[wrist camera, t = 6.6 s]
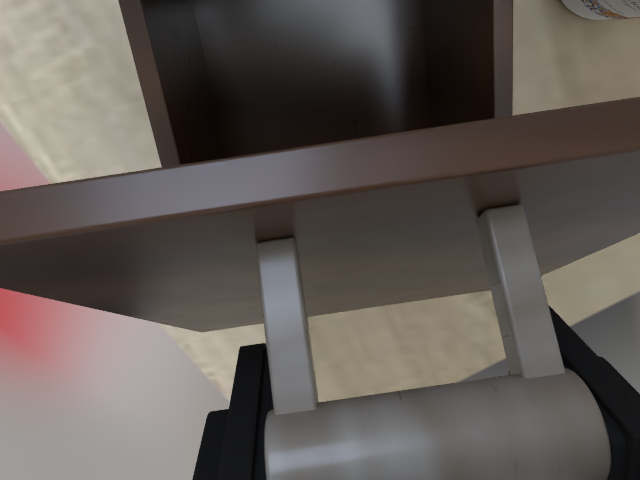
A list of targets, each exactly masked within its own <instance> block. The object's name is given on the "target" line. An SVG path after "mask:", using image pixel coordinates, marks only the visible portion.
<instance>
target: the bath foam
mask: <svg viewBox="0 0 640 480" xmlns="http://www.w3.org/2000/svg"><path fill="white" fill-rule="evenodd" d="M561 1H562V3H563V4H564V5H565V6H566V7H567V8H568V9H569V10H571V11H572V12H573V13H575V14H577V15H579V16H581V17H584V18H587V19H592V20H612V19H630V18H640V0H561Z"/></svg>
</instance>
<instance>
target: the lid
mask: <svg viewBox="0 0 640 480" xmlns="http://www.w3.org/2000/svg"><path fill="white" fill-rule="evenodd" d="M638 233H640V97H635V98H629V99H622V100H615V101H608V102H602V103H595V104H588V105H581V106H574V107H568V108H561V109H554V110H547V111H541V112H534V113H527V114H520V115H514V116H507V117H500V118H493V119H487V120H480V121H473V122H466V123H460V124H453V125H446V126H439V127H433V128H426V129H419V130H412V131H406V132H399V133H392V134H385V135H379V136H372V137H365V138H358V139H352V140H345V141H338V142H331V143H325V144H318V145H311V146H304V147H298V148H291V149H284V150H277V151H271V152H264V153H257V154H250V155H244V156H237V157H230V158H223V159H217V160H210V161H203V162H196V163H189V164H183V165H176V166H169V167H162V168H156V169H149V170H142V171H135V172H129V173H122V174H115V175H108V176H102V177H95V178H88V179H81V180H75V181H68V182H61V183H54V184H48V185H41V186H34V187H28V188H21V189H14V190H7V191H0V288H3V289H8V290H12V291H17V292H21V293H26V294H30V295H35V296H39V297H44V298H49V299H53V300H57V301H62V302H67V303H71V304H75V305H80V306H85V307H89V308H94V309H98V310H103V311H107V312H112V313H116V314H121V315H125V316H130V317H134V318H139V319H143V320H148V321H153V322H157V323H162V324H166V325H171V326H175V327H180V328H184V329H189V330H193V331H198V332H207V331H214V330H221V329H227V328H234V327H241V326H248V325H255V324H262V323H264V328H265V337H266V346H267V355H268V363H269V372H270V381H271V390H272V399H273V408H274V409H272V410H270V411H269V412H268V414H267V417H266V421H265V429H264V458H265V473H266V480H607V479H608V477H609V474H610V470H611V449H610V442H609V437H608V433H607V429H606V426H605V422H604V420H603V417H602V414H601V412H600V409H599V407H598V405H597V403H596V401H595V399H594V397H593V395H592V393H591V391H590V390H589V388H588V387H587V385H586V384H585V383H584V381H583V380H582V379H581V378H580V377H579V376H578V375H577V374H576V373H575V372H573V371H572V370H569V369H566V368H564V366H563V362H562V358H561V354H560V350H559V346H558V342H557V338H556V334H555V330H554V326H553V322H552V318H551V314H550V310H549V306H548V302H547V298H546V294H545V290H544V287H543V283H542V279H541V276H542V275H544V274H546V273H549V272H551V271H553V270H555V269H558V268H560V267H562V266H565V265H567V264H569V263H572V262H574V261H576V260H578V259H581V258H583V257H585V256H588V255H590V254H592V253H594V252H597V251H599V250H601V249H604V248H606V247H608V246H611V245H613V244H615V243H617V242H620V241H622V240H624V239H627V238H629V237H631V236H634V235H636V234H638ZM487 290H491V292H492V296H493V301H494V305H495V310H496V314H497V318H498V323H499V327H500V332H501V336H502V341H503V345H504V349H505V354H506V358H507V363H508V367H509V372H510V375H506V376H498V377H492V378H485V379H478V380H471V381H464V382H457V383H450V384H443V385H436V386H430V387H423V388H416V389H409V390H402V391H395V392H388V393H381V394H375V395H368V396H361V397H354V398H347V399H340V400H333V401H326V402H319V401H318V394H317V386H316V379H315V372H314V364H313V357H312V349H311V342H310V334H309V327H308V319H307V317H309V316H316V315H323V314H330V313H337V312H344V311H350V310H357V309H364V308H371V307H378V306H385V305H391V304H398V303H405V302H412V301H419V300H426V299H433V298H439V297H446V296H453V295H460V294H467V293H474V292H480V291H487Z"/></svg>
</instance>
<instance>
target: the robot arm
mask: <svg viewBox="0 0 640 480" xmlns="http://www.w3.org/2000/svg"><path fill="white" fill-rule="evenodd" d="M548 306H549V305H548ZM549 310H550V314H551V318H552V322H553V326H554V330H555V334H556V338H557V342H558V346H559V350H560V354H561V358H562V362H563V366H564V368H566V369H569V370H572V371H573V372H575V373H576V374H577V375H578V376H579V377H580V378H581V379H582V380H583V381H584V383H585V384H586V385H587V387H588V388H589V390H590V391H591V393H592V395H593V397H594V399H595V401H596V403H597V405H598V407H599V409H600V412H601V414H602V417H603V420H604V422H605V426H606V429H607V433H608V437H609V442H610V449H611V470H610V474H609V477H608V479H607V480H640V394H639V393H638V392H637V391H636V390H635V389H634V388H633V387H632V386H631V385H630V384H629V383H628V382H627V381H626V380H625V379H624V378H623V377H622V376H621V375H620V374H619V373H618V372H617V370H615V368H614V367H612V365H611V364H610V363H609V362H608V361H606V360H605V359H604V358H602V357H599V356H597V355H596V354H595V353H594V352H593V351H592V350H591V349H590V348H589V347H588V346H587V345H586V344H585V343H584V341H583V340H582V339H581V338H580V337H579V336H578V335H577V334H576V333H575V332H574V331H573V330H572V329H571V328H570V327H569V326H568V325H567V324H566V323H565V322H564V321H563V320H562V319H561V317H560V316H559V315H558V314H557V313H556V312H555V311H554V310H553V309H552V308H551V307H550V306H549ZM509 375H510V372H509ZM272 409H274V408H273V399H272V390H271V381H270V372H269V363H268V355H267V347H266V344H265V343H262V344H255V345H248V346H241V347H240V349H239V355H238V360H237V366H236V372H235V377H234V383H233V389H232V395H231V400H230V406H229V409H225V410H219V411H212V412H210V413H209V414H208V416H207V419H206V423H205V428H204V432H203V436H202V441H201V445H200V449H199V454H198V458H197V462H196V467H195V471H194V476H193V480H266V473H265V458H264V429H265V421H266V417H267V414H268V412H269V411H270V410H272Z"/></svg>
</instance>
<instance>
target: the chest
mask: <svg viewBox="0 0 640 480" xmlns="http://www.w3.org/2000/svg"><path fill="white" fill-rule="evenodd" d="M119 4H120V8H121V12H122V16H123V20H124V23H125V27H126V31H127V35H128V39H129V43H130V46H131V50H132V54H133V58H134V62H135V66H136V69H137V73H138V77H139V81H140V85H141V89H142V92H143V96H144V100H145V104H146V108H147V112H148V115H149V119H150V123H151V127H152V131H153V135H154V138H155V142H156V146H157V150H158V154H159V158H160V161H161V165H162V167H169V166H176V165H183V164H189V163H196V162H203V161H210V160H217V159H223V158H230V157H237V156H244V155H250V154H257V153H264V152H271V151H277V150H284V149H291V148H298V147H304V146H311V145H318V144H325V143H331V142H338V141H345V140H352V139H358V138H365V137H372V136H379V135H385V134H392V133H399V132H406V131H412V130H419V129H426V128H433V127H439V126H446V125H453V124H460V123H466V122H473V121H480V120H487V119H493V118H500V117H507V116H512V91H513V0H119Z"/></svg>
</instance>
